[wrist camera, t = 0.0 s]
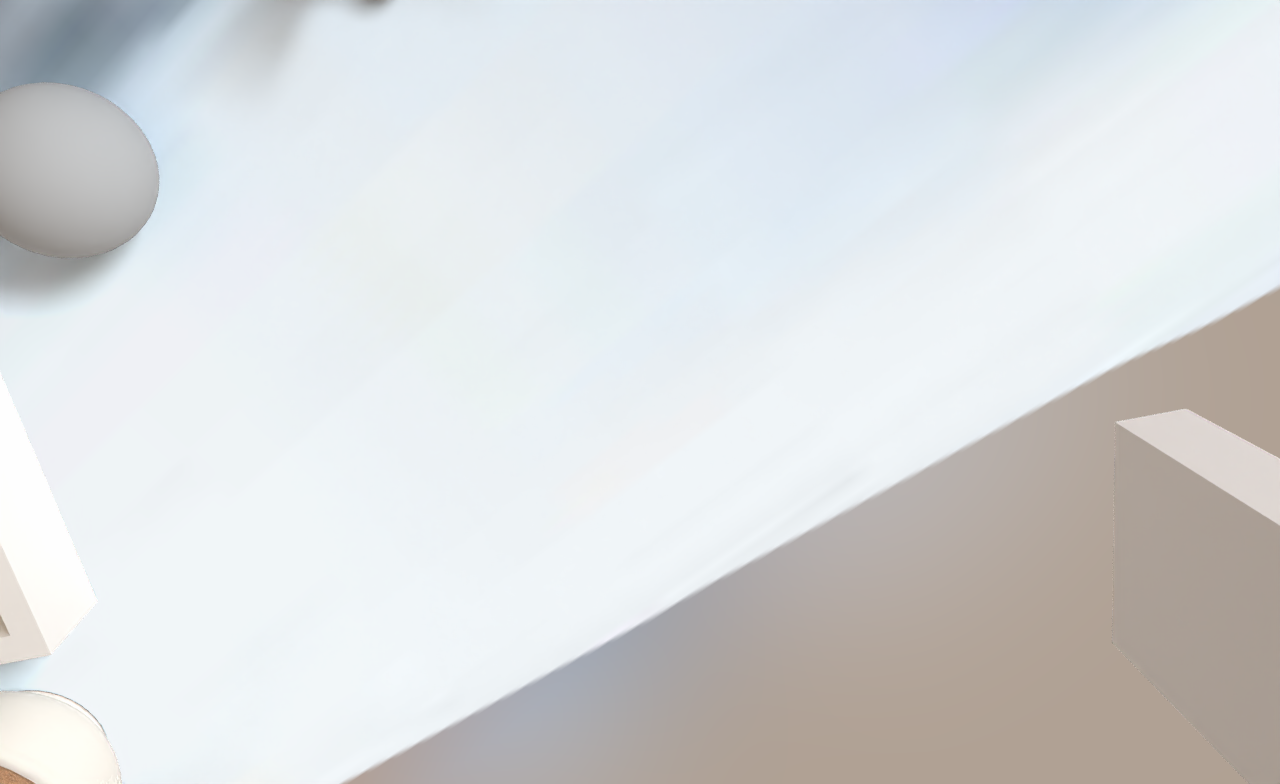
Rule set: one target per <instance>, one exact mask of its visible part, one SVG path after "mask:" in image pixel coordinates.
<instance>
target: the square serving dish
mask: <svg viewBox="0 0 1280 784" xmlns="http://www.w3.org/2000/svg"><path fill="white" fill-rule="evenodd" d="M97 602H98V601H97V598H96V596H95V593H94V591H93V589H92V586H91V584H90V582H89V579H88V577H87V575H86V572H85V570H84V568H83V565H82V563H81V561H80V558H79V556H78V554H77V551H76V549H75V546H74V544H73V542H72V539H71V537H70V535H69V532H68V530H67V528H66V525H65V523H64V521H63V518H62V516H61V514H60V511H59V509H58V507H57V504H56V502H55V500H54V497H53V495H52V492H51V490H50V488H49V485H48V483H47V481H46V478H45V476H44V474H43V471H42V469H41V467H40V464H39V462H38V460H37V457H36V455H35V453H34V450H33V448H32V445H31V443H30V441H29V438H28V436H27V434H26V431H25V429H24V427H23V424H22V422H21V420H20V417H19V415H18V413H17V410H16V408H15V406H14V403H13V401H12V398H11V396H10V394H9V391H8V389H7V387H6V384H5V382H4V380H3V377H2V375H1V373H0V665H1V664H6V663H11V662H16V661H22V660H27V659H32V658H38V657H43V656H48V655H52V654H53V653H54V651H55V650H56V649H57V648H58V647H59V646H60V645H61V643H62V642H63V641H64V640H65V639H66V638H67V636H68V635H69V634H70V633H71V632H72V631H73V630H74V628H75V627H76V626H77V625H78V624H79V623H80V622H81V620H82V619H83V618H84V617H85V616H86V615H87V614H88V612H89V611H90V610H91V609H92V608H93V607H94V606H95V604H96V603H97Z"/></svg>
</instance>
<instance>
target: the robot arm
mask: <svg viewBox="0 0 1280 784" xmlns="http://www.w3.org/2000/svg"><path fill="white" fill-rule="evenodd" d="M1114 460H1115V461H1114V468H1115V469H1114V537H1113V539H1114V540H1113V616H1112V617H1113V619H1112V622H1113V623H1112V643H1113V645H1114V646H1115V647H1116V648H1117V649H1118V650H1120V652H1121V653H1122V654H1123V655H1124V656H1125V657H1126V658H1127V659H1128V660H1129V661H1130V662H1131V663H1132V664H1133V665H1134V666H1135V667H1136V668H1137V669H1138V670H1139V671H1140V672H1141V673H1142V674H1143V675H1144V676H1145V677H1146V678H1147V679H1148V681H1150V683H1151V684H1152V685H1153V686H1154V687H1155V688H1156V689H1157V690H1158V691H1159V692H1160V693H1161V694H1162V695H1163V696H1164V697H1165V698H1166V699H1167V700H1168V701H1169V702H1170V703H1171V704H1172V705H1173V706H1174V707H1175V708H1176V709H1177V710H1178V711H1179V712H1180V714H1182V716H1183V717H1184V718H1185V719H1186V720H1187V721H1188V722H1189V723H1190V724H1191V725H1192V726H1193V727H1194V728H1195V729H1196V730H1197V731H1198V732H1199V733H1200V734H1201V735H1202V736H1203V737H1204V738H1205V739H1206V740H1207V741H1208V742H1209V743H1210V744H1211V746H1212V747H1213V748H1214V749H1215V750H1216V751H1217V752H1218V753H1219V754H1220V755H1221V756H1222V757H1223V758H1224V759H1225V760H1226V761H1227V762H1228V763H1229V764H1230V765H1231V766H1232V767H1233V768H1234V769H1235V770H1236V771H1237V772H1238V773H1239V774H1240V775H1241V776H1242V777H1243V778H1244V779H1245V781H1246V782H1248V784H1280V459H1279V458H1278V457H1276V456H1274V455H1272V454H1270V453H1268V452H1266V451H1264V450H1263V449H1261V448H1259V447H1257V446H1255V445H1253V444H1251V443H1250V442H1247V441H1245V440H1244V439H1242V438H1240V437H1238V436H1236V435H1234V434H1233V433H1231V432H1229V431H1227V430H1225V429H1223V428H1221V427H1220V426H1218V425H1216V424H1214V423H1212V422H1210V421H1208V420H1206V419H1205V418H1203V417H1201V416H1199V415H1197V414H1195V413H1193V412H1192V411H1190V410H1188V409H1182V410H1177V411H1171V412H1166V413H1160V414H1155V415H1150V416H1144V417H1139V418H1134V419H1128V420H1123V421H1118V422H1115V458H1114Z"/></svg>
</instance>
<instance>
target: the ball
mask: <svg viewBox="0 0 1280 784" xmlns="http://www.w3.org/2000/svg"><path fill="white" fill-rule="evenodd" d="M158 191H159V171H158V165H157V161H156V157H155V154H154V152H153V149H152V147H151V145H150V143H149V141H148V139H147V138H146V136H145V134H144V133H143V132H142V130H141V129H140V127H139V126H138V125H137V124H136V123H135V122H134V121H133V119H132V118H131V117H129V116H128V115H127V114H126V113H125V112H124V111H123V110H122V109H120V108H119V107H118V106H116V105H115V104H114V103H112V102H111V101H109V100H107V99H105V98H104V97H102V96H100V95H98V94H95V93H93V92H91V91H88V90H86V89H83V88H79V87H76V86H72V85H66V84H60V83H44V82H41V83H32V84H25V85H20V86H16V87H13V88H10V89H8V90H5V91H3V92H1V93H0V236H2V237H4V238H5V239H7V240H8V241H10V242H11V243H13V244H15V245H17V246H19V247H21V248H24V249H26V250H29V251H31V252H35V253H38V254H42V255H46V256H51V257H58V258H83V257H90V256H94V255H98V254H102V253H106V252H108V251H111V250H113V249H115V248H117V247H119V246H120V245H122V244H124V243H126V242H127V241H129V240H130V239H131V238H132V237H134V236H135V235H136V234H137V233H138V232H139V231H140V230H141V228H142V227H143V226H144V225H145V224H146V222H147V221H148V219H149V218H150V216H151V214H152V212H153V210H154V207H155V204H156V200H157V197H158Z"/></svg>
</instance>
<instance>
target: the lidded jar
mask: <svg viewBox="0 0 1280 784" xmlns="http://www.w3.org/2000/svg"><path fill="white" fill-rule="evenodd" d="M0 784H122V780H121V772H120V768H119V764H118V761H117V757H116V754H115V752H114V750H113V748H112V746H111V744H110V742H109V741H108V739H107V737H106V734H105V732H104V730H103V728H102V726H101V725H100V724H99V722H98V721H97V719H96V718H95V717H94V716H93V715H92V714H91V713H90V712H89V711H87V710H86V709H85V708H83V707H82V706H81V705H79V704H77V703H76V702H74V701H72V700H70V699H68V698H65V697H63V696H61V695H57V694H53V693H50V692H43V691H0Z"/></svg>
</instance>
